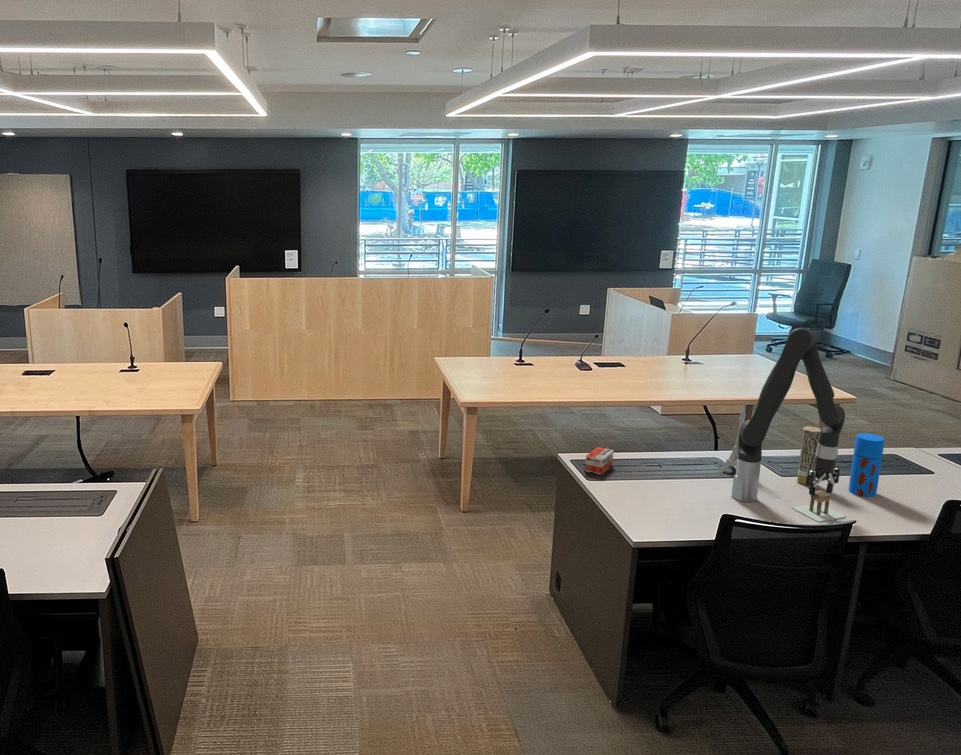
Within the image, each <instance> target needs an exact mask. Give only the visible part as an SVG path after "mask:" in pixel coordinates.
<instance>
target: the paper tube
mask: <svg viewBox="0 0 961 755" xmlns="http://www.w3.org/2000/svg"><path fill="white" fill-rule="evenodd" d="M821 430H822V429H821V428H819V427H815V426H808V425H807V426H804V427H803V430H802V431H803V432H802V440H801V447H800V448H801V449H800V457H799V464H798V469H797V470H798V472H797V482H798V483H799V484H801V485H805V486H808V485H807V484H806V479H807V474H808V470H811V471H814V470H815V468H816V467H815V457H816V451H817V446H818V443H819V436H820V432H821ZM809 482H810V480H809Z"/></svg>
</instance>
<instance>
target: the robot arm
mask: <svg viewBox="0 0 961 755" xmlns="http://www.w3.org/2000/svg"><path fill="white" fill-rule="evenodd" d="M815 336H816V335H815V334H814V332H813V331H812V330H810V329H809V328H806V327H797V328H794V329H792V330H791V331H790V333H789V334H788V336H787V338H786V342H785V343H784V346H783V349H782V351H781V354H780V357H779V358H778V360H777V361H776V362H775V364H774V366H773V367H772V370H771V371H770V373H769V375H768V376H767V378H766V380H765V382H764V385H762V388H761V390H760V392H759V397H758V399H757V400H758V401H757V405H756V408H755V411H754V413H753V414H752V416H751V417H750V419H747V420H744V423H743V424H742V425H741V427H740V431H739V430H738V431H739V442H738V459H737V467H736V470H735V474H734V475H733V479H732V480H733V481H732V487H731V498H734V499H736V500H737V501H738V502H745V503H754V502H756V501H757V500H758V498H757V497H758V491H759V482H760V476H761V474H760V473H761V465H762V458H763V457H762V456H763V454H762V451H763V450H762V447H763V446H762V445H763V442H764V440H765V438H766V436H767V433H768V430H769V428H770V426H771V423H772V421H773V418H774V417H775V415H776V414H777V412H778V410H779V408H780V406H782V403H783V401H784V400H785V398H786V397H787V394H788V392H789V390H790V389H791V387H792V384H793V381H794V379H795V375H796V370H797V367H798V365H799V364H800V362H801V360H802V362H803V364H804V368H805V371H806V376H807V379H808V380H807V381H808V384H809V386H810V389H811V392H812V394H813V396H814V399H815V402H816V408H817V412H818V416H819V419H820V421H822V423H823V424H824V425H823V428H822V429H821V432H820V436H819V443H818V446H817V451H816V457H815V467H816V468H815V470H814V471H811V470H808V474H807V479H806V484H807V485H806V486H809V489H808V494H809V495H810V496H811V495H812V496H815V491H817V490H816V489H817V486H818V485H819V484H820V483H821V482H824V481H826V482H827V483H826V491H825V493H828V494H830V495H831V494H832V493H833V491H834V486H835V484H838V483H839V482H840V469H839V468H837V467H836V465H837V459H838V452H839V451H838V450H839V441H840V435H841V432H842V429H843V426H844V422H845V419H846V412H845V410H844V408H843V407H842V406H840V405H839V404H835V402H834V398H835V391H834V389H833V386H832V385H831V382H830V380H829V377H828V375H827V373H826V370H825V368H824V366H823V363H822V360H821V358H820V355H819V351H818V347H817V346H818V345H817V342H816V337H815ZM809 480H810V482H809Z"/></svg>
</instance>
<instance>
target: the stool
mask: <svg viewBox="0 0 961 755" xmlns="http://www.w3.org/2000/svg"><path fill="white" fill-rule="evenodd" d="M815 501H816V502H817V503H816V504H817V515H820V514H821V506H822V505H823V503H824V506H825V508H824V513H825V514H828V508H829V509H830V507H829V506H830V501H831V494H829V493H827V492H826V491H824V490H815V496H812V495H810V502H809V505H810V508H809V511H811V512H812V511H813V508H814V504H815Z"/></svg>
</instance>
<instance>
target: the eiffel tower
mask: <svg viewBox="0 0 961 755" xmlns="http://www.w3.org/2000/svg"><path fill="white" fill-rule="evenodd" d="M746 416H747V415H746V412H745V408H742V410H741V412H740V415H739V417H740V420H739V425H738V431H737V435H736V441H735V445H733V449H732V452H731V454H730V456H729V457H728V458H726V459H725V462H724V463H723V464H722V466H720V468H719V469H718V470H717V471H716V473H719V472H720V473H719V474H724V473H725V472H726V469H727V468H728V467H729V468H734V467H736V468H737V459H738V442H739V431H740V427H741V425H742V424H743V423H744V422H745V420H746V419H745V418H746ZM723 472H724V473H723Z"/></svg>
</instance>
